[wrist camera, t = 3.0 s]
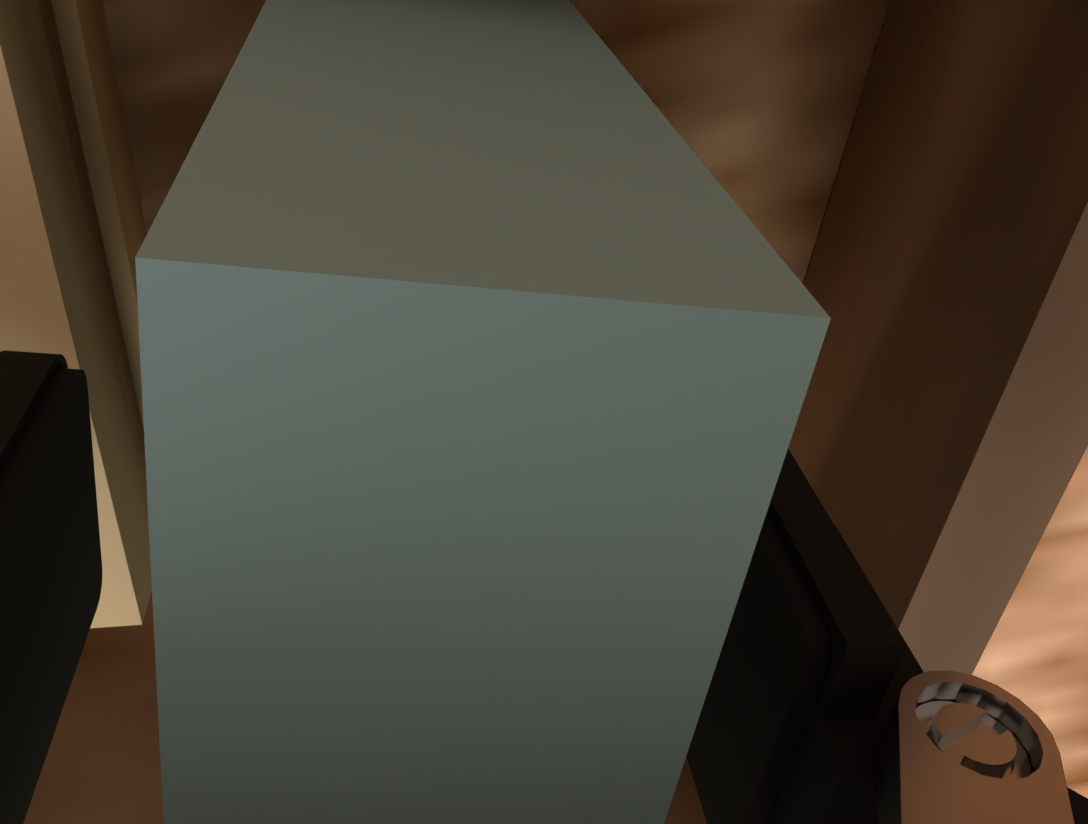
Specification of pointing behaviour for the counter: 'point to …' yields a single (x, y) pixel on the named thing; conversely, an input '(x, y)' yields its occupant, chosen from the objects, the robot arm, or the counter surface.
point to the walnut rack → (854, 366)
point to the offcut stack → (78, 256)
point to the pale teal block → (450, 425)
